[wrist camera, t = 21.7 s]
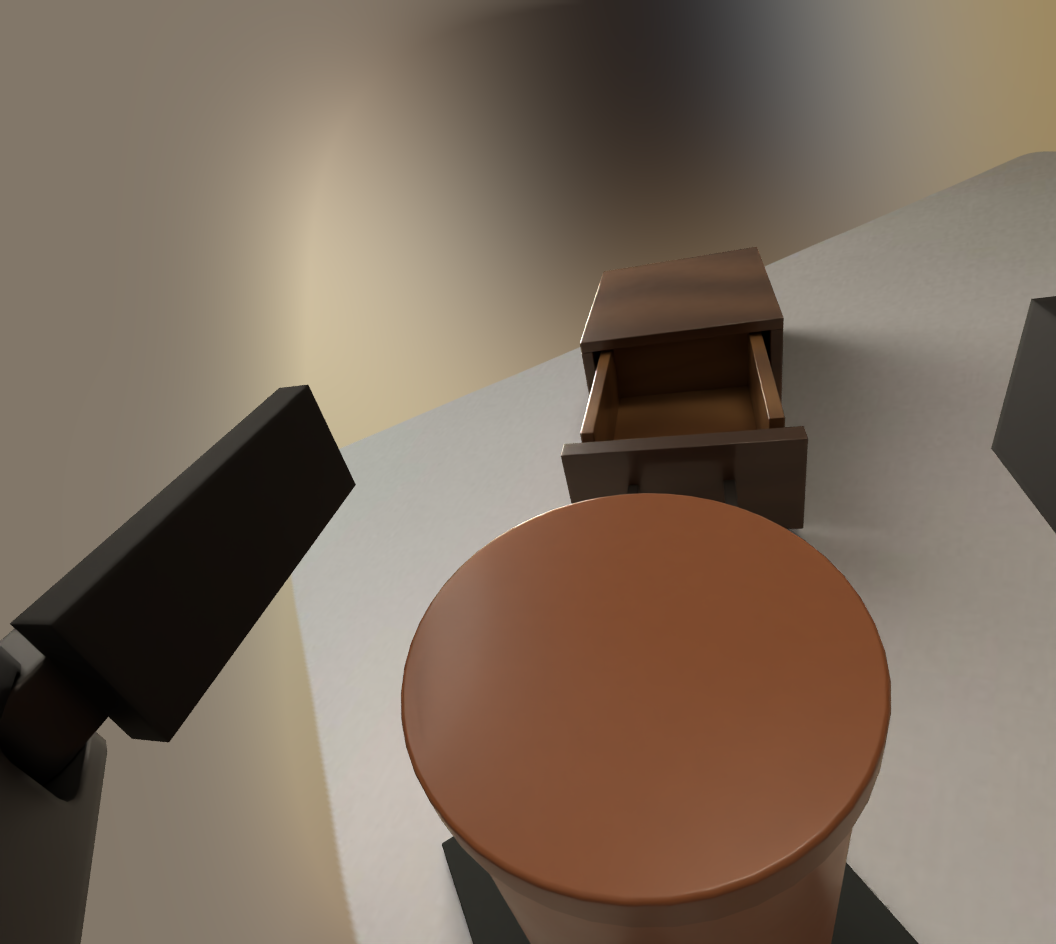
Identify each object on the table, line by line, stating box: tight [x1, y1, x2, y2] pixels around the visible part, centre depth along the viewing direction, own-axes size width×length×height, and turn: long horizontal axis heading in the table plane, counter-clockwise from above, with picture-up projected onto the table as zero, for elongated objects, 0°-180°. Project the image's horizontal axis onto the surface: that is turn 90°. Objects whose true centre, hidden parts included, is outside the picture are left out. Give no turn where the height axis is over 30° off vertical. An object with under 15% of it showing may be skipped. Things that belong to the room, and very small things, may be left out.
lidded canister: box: [401, 493, 891, 944], centre depth 14 cm, size 8×8×15 cm
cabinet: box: [580, 247, 784, 404], centre depth 48 cm, size 17×14×8 cm
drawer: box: [561, 331, 808, 529], centre depth 36 cm, size 20×12×6 cm, turn 168°
